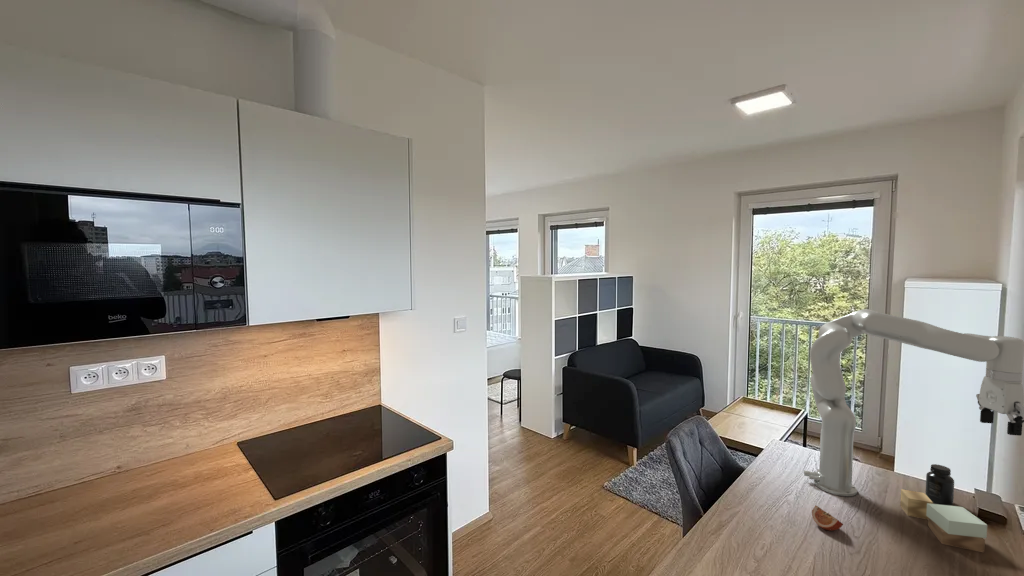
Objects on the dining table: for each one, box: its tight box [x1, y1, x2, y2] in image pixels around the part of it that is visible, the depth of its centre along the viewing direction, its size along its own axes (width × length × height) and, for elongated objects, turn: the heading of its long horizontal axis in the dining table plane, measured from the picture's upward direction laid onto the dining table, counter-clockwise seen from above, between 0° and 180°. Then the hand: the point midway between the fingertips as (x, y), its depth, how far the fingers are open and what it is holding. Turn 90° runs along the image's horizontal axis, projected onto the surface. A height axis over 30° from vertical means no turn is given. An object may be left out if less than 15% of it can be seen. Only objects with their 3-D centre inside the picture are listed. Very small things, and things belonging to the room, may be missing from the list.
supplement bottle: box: [924, 463, 955, 506], centre depth 145 cm, size 7×7×12 cm
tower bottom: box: [927, 517, 986, 553], centre depth 126 cm, size 9×9×4 cm
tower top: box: [926, 503, 988, 539], centre depth 126 cm, size 9×9×4 cm
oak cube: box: [899, 488, 934, 520], centre depth 139 cm, size 6×6×6 cm
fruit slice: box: [811, 505, 844, 532], centre depth 132 cm, size 8×7×5 cm
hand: (999, 428), depth 134 cm, fingers open, 9 cm apart
